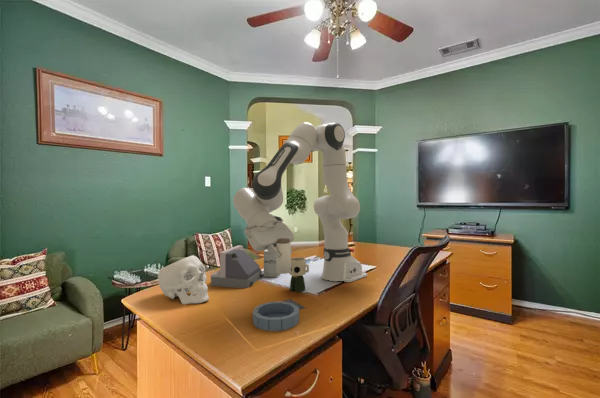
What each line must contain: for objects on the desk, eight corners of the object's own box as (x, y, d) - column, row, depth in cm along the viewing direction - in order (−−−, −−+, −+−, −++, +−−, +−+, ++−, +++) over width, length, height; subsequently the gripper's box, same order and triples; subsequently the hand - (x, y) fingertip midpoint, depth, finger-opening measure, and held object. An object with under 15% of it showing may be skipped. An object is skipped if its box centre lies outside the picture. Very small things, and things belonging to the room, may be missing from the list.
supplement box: (263, 277, 136) (263, 250, 136) (267, 273, 144) (267, 248, 144) (278, 277, 135) (277, 251, 135) (281, 273, 142) (281, 248, 142)
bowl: (284, 309, 97) (284, 298, 97) (307, 324, 85) (307, 312, 85) (246, 318, 90) (246, 307, 90) (265, 337, 78) (265, 324, 78)
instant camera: (232, 273, 145) (232, 243, 144) (268, 277, 137) (268, 246, 137) (204, 285, 125) (204, 251, 125) (244, 290, 117) (244, 254, 117)
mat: (290, 300, 105) (290, 299, 105) (305, 308, 97) (305, 307, 97) (266, 306, 100) (266, 304, 100) (280, 315, 92) (280, 314, 92)
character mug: (281, 290, 116) (281, 259, 116) (291, 285, 122) (290, 255, 122) (304, 295, 111) (304, 262, 111) (313, 289, 117) (312, 258, 117)
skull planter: (195, 305, 96) (177, 253, 101) (161, 322, 105) (146, 273, 109) (224, 292, 109) (206, 247, 113) (191, 309, 117) (176, 266, 121)
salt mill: (286, 269, 100) (286, 237, 100) (293, 272, 96) (293, 239, 96) (273, 271, 98) (273, 238, 98) (280, 274, 94) (280, 240, 94)
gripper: (247, 221, 92) (271, 254, 87) (283, 217, 109) (305, 244, 104) (237, 234, 94) (260, 267, 89) (274, 228, 112) (295, 255, 106)
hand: (285, 255), depth 97 cm, fingers closed on salt mill, 5 cm apart
